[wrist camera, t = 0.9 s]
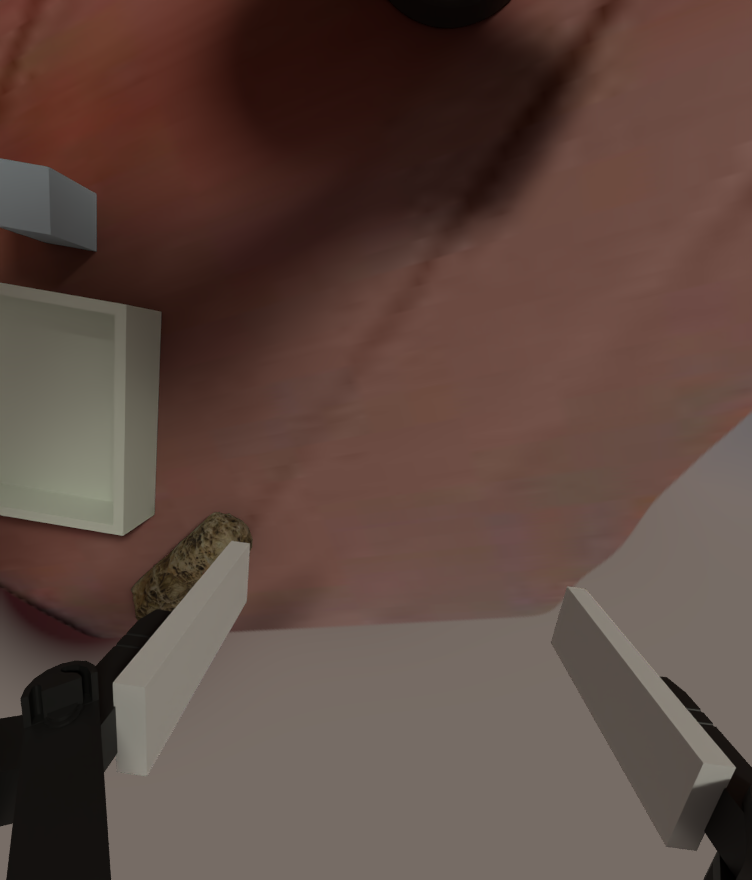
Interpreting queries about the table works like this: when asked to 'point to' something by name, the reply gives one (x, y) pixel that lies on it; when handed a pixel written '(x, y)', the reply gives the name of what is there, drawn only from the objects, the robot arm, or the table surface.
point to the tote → (77, 410)
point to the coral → (187, 563)
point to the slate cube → (47, 206)
